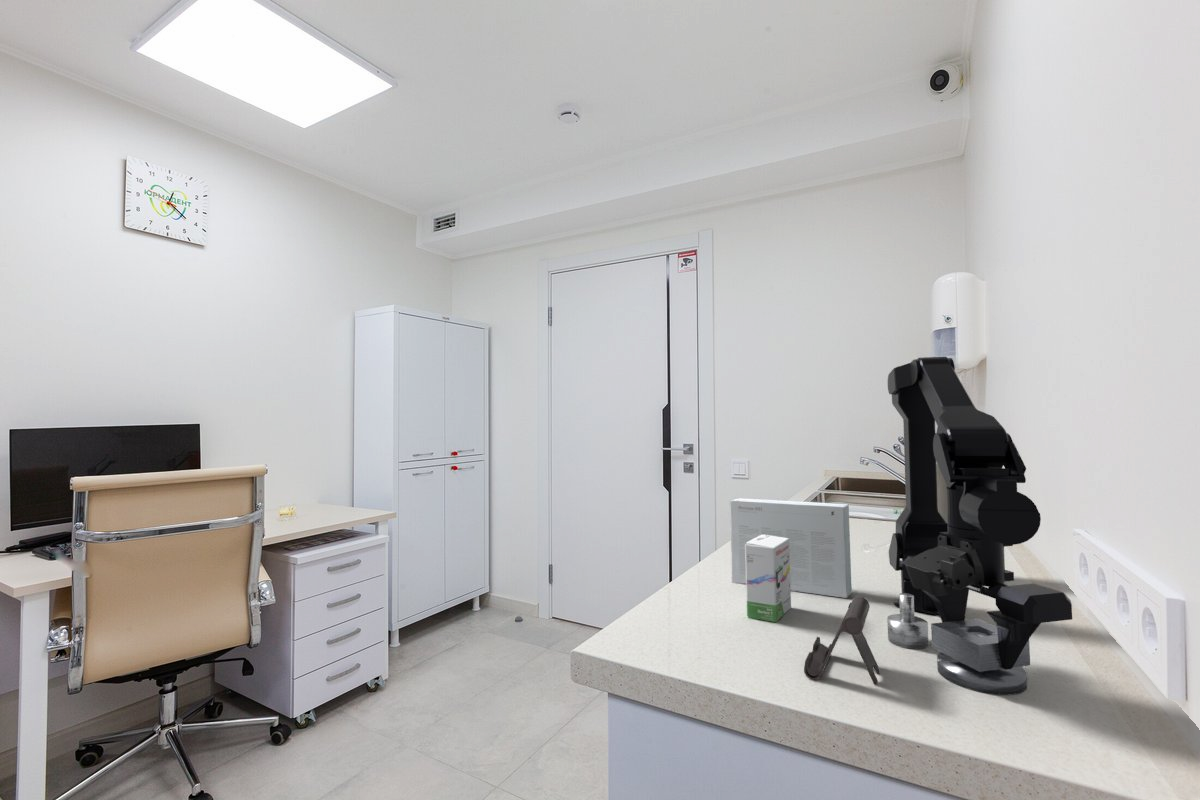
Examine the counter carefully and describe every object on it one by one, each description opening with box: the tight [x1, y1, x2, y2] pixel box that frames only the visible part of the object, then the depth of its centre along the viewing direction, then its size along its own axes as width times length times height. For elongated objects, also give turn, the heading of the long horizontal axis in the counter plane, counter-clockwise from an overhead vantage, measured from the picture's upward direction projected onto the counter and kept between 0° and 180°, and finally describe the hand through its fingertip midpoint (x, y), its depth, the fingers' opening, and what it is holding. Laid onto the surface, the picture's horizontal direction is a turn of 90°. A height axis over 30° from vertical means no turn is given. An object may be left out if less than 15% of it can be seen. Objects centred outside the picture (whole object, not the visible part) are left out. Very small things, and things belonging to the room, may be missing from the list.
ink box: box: [745, 535, 792, 623], centre depth 92 cm, size 8×5×12 cm, turn 145°
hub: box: [936, 632, 1028, 696], centre depth 69 cm, size 9×9×5 cm
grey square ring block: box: [930, 618, 1031, 672], centre depth 69 cm, size 7×7×3 cm
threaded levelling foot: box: [886, 592, 929, 650], centre depth 79 cm, size 5×5×6 cm
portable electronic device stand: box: [803, 595, 881, 686], centre depth 71 cm, size 9×8×8 cm
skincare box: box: [729, 497, 853, 599], centre depth 106 cm, size 21×6×16 cm, turn 58°
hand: (979, 655), depth 69 cm, fingers closed on grey square ring block, 7 cm apart
